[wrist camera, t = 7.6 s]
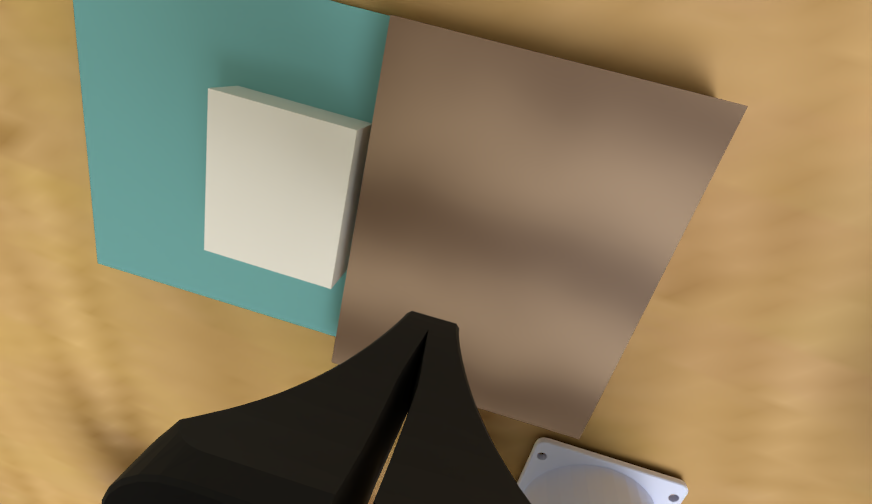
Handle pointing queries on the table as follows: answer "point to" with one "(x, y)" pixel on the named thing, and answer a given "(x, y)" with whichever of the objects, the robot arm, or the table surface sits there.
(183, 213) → the teal mat
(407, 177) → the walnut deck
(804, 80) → the table surface
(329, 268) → the ceramic tile
